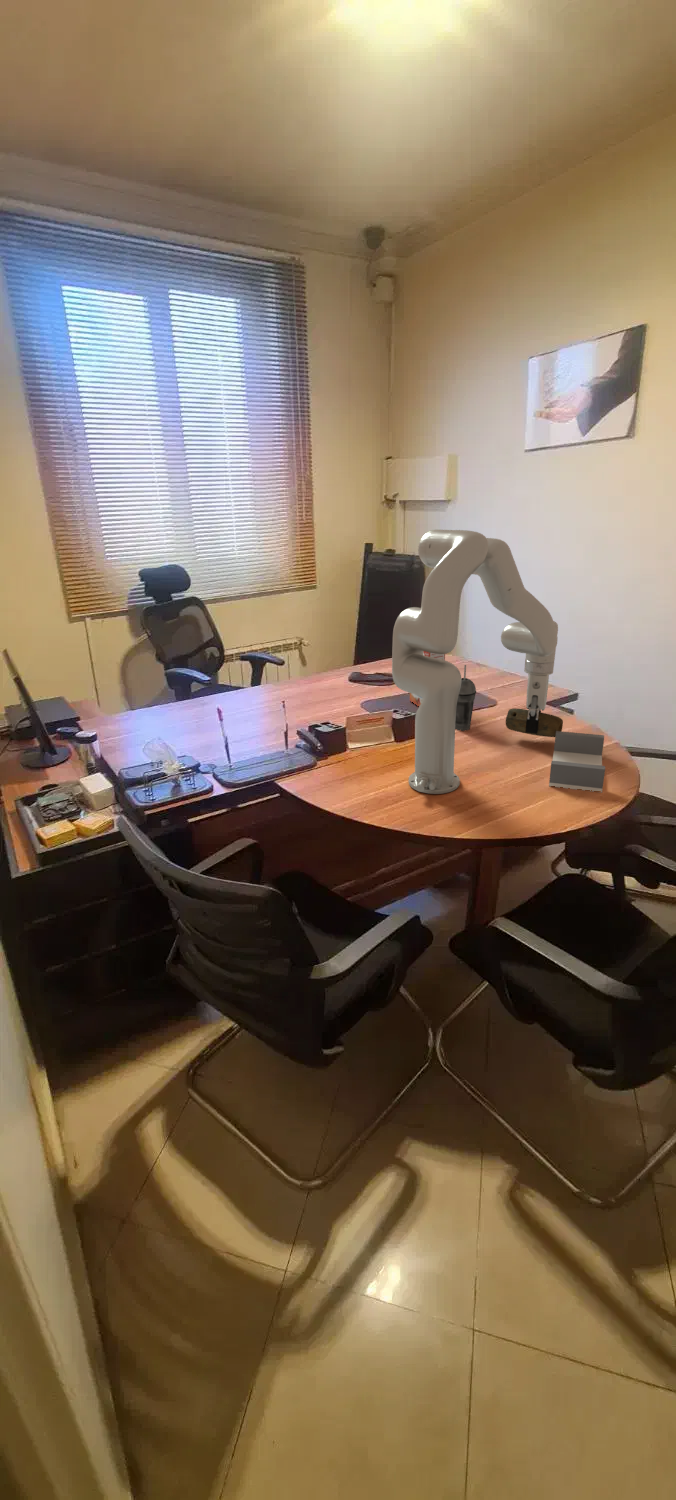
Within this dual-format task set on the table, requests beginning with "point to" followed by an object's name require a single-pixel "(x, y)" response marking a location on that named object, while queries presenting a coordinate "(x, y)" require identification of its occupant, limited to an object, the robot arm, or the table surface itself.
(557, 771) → the holder
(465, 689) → the beverage cup
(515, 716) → the brown piece
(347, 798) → the table surface
